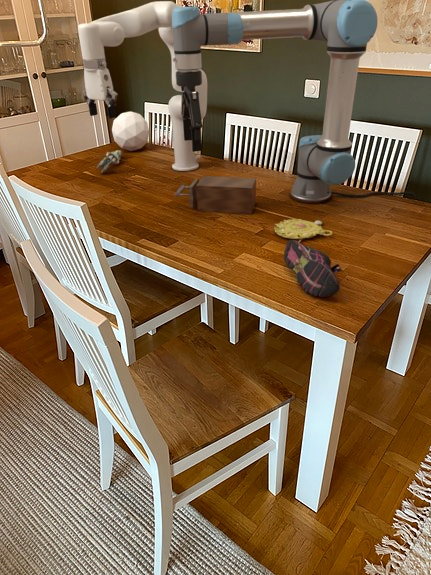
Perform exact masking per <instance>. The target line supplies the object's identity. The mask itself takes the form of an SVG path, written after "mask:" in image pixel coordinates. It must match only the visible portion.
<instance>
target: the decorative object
mask: <svg viewBox="0 0 431 575" xmlns="http://www.w3.org/2000/svg"><path fill="white" fill-rule="evenodd" d="M322 225H323V221H321V220H314V222H313V221H310V220H304V219H303V218H292V219H283V221H279V223H274V227H273V229H274V233H276V234H277V236H279V237H282V238H284V239H285V238H286V239H290V240H298V242H299V243H300V242H302V240H305V239H310V238H313V237H315V236H317V235H319V236H320V235H321V236H325V237H329V236H331V235H333V231H332V230H325V229H323V227H322ZM326 233H327V234H326Z"/></svg>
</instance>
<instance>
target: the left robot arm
mask: <svg viewBox="0 0 431 575" xmlns="http://www.w3.org/2000/svg"><path fill="white" fill-rule="evenodd" d="M175 7H180V6H179V5H178V4H177V3H175V2H174V1H171V0H170V1H169V0H163V1H161V0H160V1H159V0H158V1H151V2H148V3H145V4H142V5H140V6H137V7H134V8H131V9H129V10H125V11H121V12H118V13H115V14H111V15H107V16H104V17H101V18H98V19H95V20H93V21H91V22H86V23H84V22H83V23H79V25H78V26H77V33H78V40H79V44H80V45H79V46H80V51H81V56H82V57H81V58H82V62H83V73H84V74H83V77H84V86H85V87H84V88H83V89H82V90H81V92H82V95H83V97H84V98H83V99H84V100H85V101H86V104H87V106H88V111H89V116H90V117H94V116H97V115H98V113H99V112H98V108H97V103H96V101H102V102H105V104H106V112H107V118H108V119H110V120H112V119H116V118H117V114H116V107H115V106H117V101H118V93H117V92H116V91H115V90H114V85H113V81H112V77H111V74H110V70H109V68H107V62H106V54H105V47H110V48H111V47H113V48H114V47H118V46H120V45H121V44H123V42H124V41H125V40H124V39H125V38H135V37H136V38H137V37H140V36H142V35H145V34H147V33H150V32H152V31H154V30H157V29H158V34H159V37H160V38H161V40H162V41H163V43H165V45H166V46H167V48H168V50H169V53H170V57H171V58H170V59H171V86H172V88H173V89H174V90H175V91H176V92H180V93H182V90H181V86H178V85H177V84H176V72H177V71H178V70H177V69H176V68H175V62H173V58H175V54H174V42H173V30H172V11H173V9H174V8H175ZM200 71H201V72H202V84H201V85H199V86H195V90H196V91H198V93H199V104H200V112H201V119H202V120H203V119H205V116H206V114H207V109H208V77H207V74H206V73H205V71H204V70H202V68H201V69H200ZM181 100H182V94H177V95H173V96H171V98H170V99H169V101H168V113H169V116H170V121H171V129H172V142H173V154H174V163H172V164H171V169H172V170H174V171H177V172H189V171H190V172H191V171H194V170H197V169H198V168H199V167H200V165H199V163H198V162H197V161H198V160H200V159H201V158H202V156H201V155H200V154H197V155H196V152H193V151H192V140H187V141H184V130H183V118H182V115H181ZM189 119H190V118H189Z"/></svg>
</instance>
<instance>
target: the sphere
mask: <svg viewBox="0 0 431 575" xmlns="http://www.w3.org/2000/svg"><path fill="white" fill-rule="evenodd" d="M149 128H150V127H149V123H148V122H147V120H146V119H145V118H144V117H143V115H141V114H140V113H139V112H134V111H125V112H122V113H120V114H119V115H118V116H116V117H115V118H114V120H113V122H112V127H111V132H112V136H113V141H114V142H115V143H116V144H117V145H118V147H120V148H121V149H123V150H126V151H129V152H133V151H134V152H135V151H137V150H140V149H142V148H143V147H144V146H145V145H146V144H148V142H149V137H150V129H149Z"/></svg>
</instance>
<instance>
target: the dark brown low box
mask: <svg viewBox="0 0 431 575" xmlns="http://www.w3.org/2000/svg"><path fill="white" fill-rule="evenodd" d="M256 201H257V178H253V177H235V176H233V177H232V176H214V175H213V176H211V175H203V176H202V177H201V179H200V180H199V183H198V184H197V203H196V204H197V211H198V212H210V213H224V214H225V213H226V214H242V215H252V214H253V211H254V208H255V206H256Z"/></svg>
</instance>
